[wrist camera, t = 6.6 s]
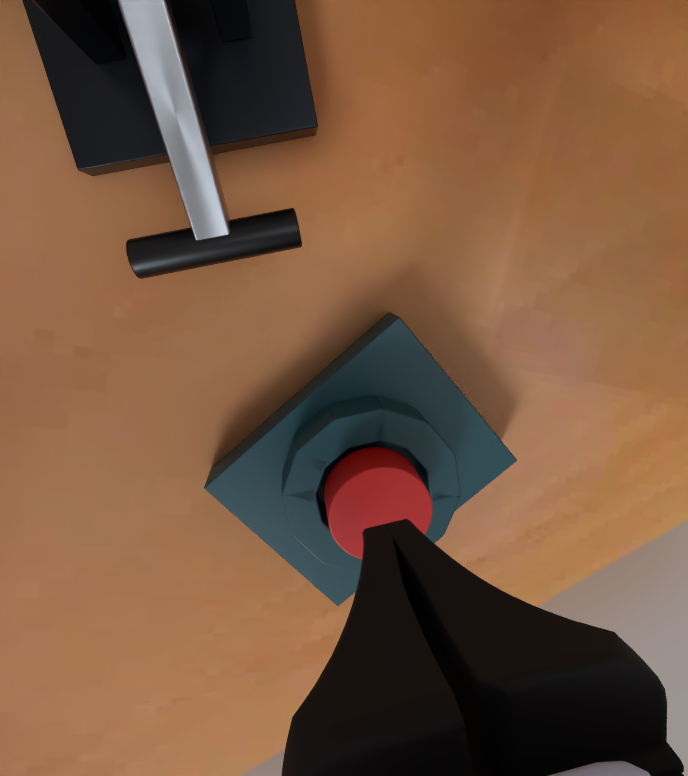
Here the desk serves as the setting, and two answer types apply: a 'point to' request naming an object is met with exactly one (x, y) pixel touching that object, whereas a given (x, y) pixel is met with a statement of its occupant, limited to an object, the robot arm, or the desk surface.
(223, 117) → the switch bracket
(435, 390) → the button box
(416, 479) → the power button
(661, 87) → the desk surface
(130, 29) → the switch lever
